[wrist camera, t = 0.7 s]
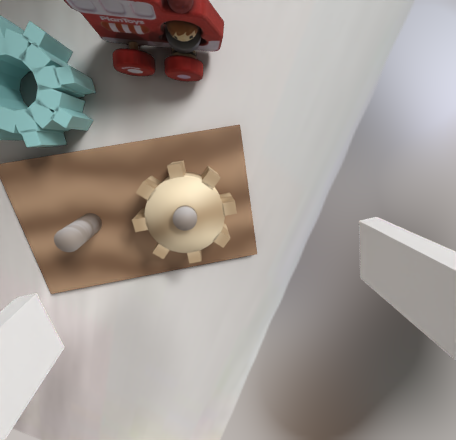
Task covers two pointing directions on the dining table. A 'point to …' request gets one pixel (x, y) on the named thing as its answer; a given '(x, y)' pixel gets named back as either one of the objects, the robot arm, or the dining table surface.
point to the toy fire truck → (156, 32)
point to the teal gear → (39, 87)
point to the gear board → (134, 207)
